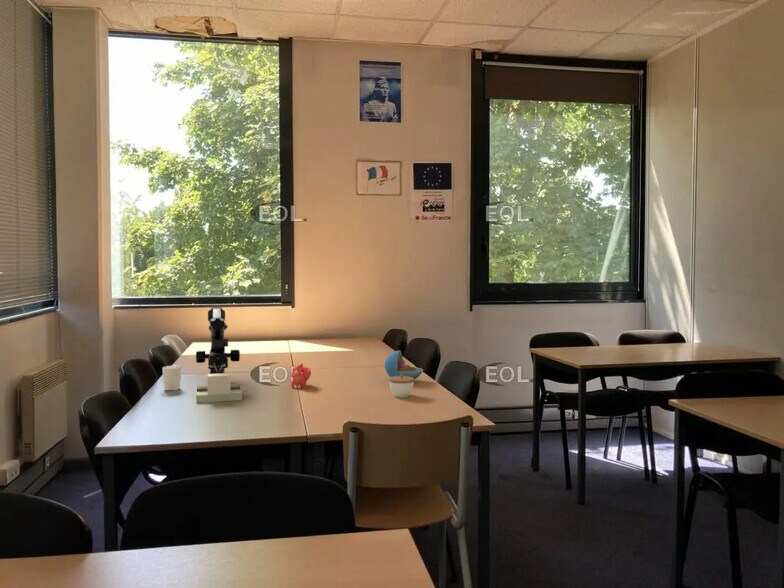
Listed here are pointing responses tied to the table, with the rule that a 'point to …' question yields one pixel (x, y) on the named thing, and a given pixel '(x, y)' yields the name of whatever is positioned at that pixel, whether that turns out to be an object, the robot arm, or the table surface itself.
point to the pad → (218, 396)
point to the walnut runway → (205, 387)
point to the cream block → (219, 383)
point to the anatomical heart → (300, 376)
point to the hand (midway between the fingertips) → (218, 372)
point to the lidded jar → (401, 385)
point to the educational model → (400, 366)
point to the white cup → (171, 377)
